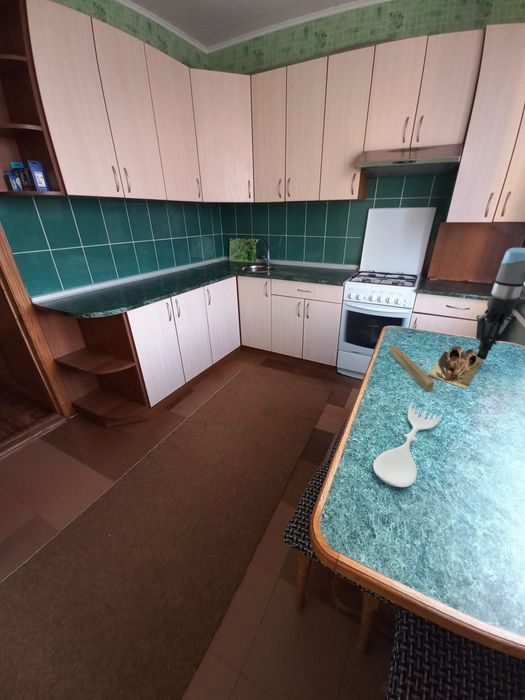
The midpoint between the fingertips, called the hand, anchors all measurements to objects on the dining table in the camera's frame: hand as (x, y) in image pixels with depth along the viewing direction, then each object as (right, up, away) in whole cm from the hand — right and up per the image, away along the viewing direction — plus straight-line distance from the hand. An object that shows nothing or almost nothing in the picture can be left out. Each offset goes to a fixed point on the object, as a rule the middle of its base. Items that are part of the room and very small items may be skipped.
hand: (481, 357), depth 108 cm
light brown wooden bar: (-27, -5, +1) cm, 27 cm away
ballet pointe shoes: (-8, -4, +2) cm, 9 cm away
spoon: (-44, -23, -33) cm, 60 cm away
